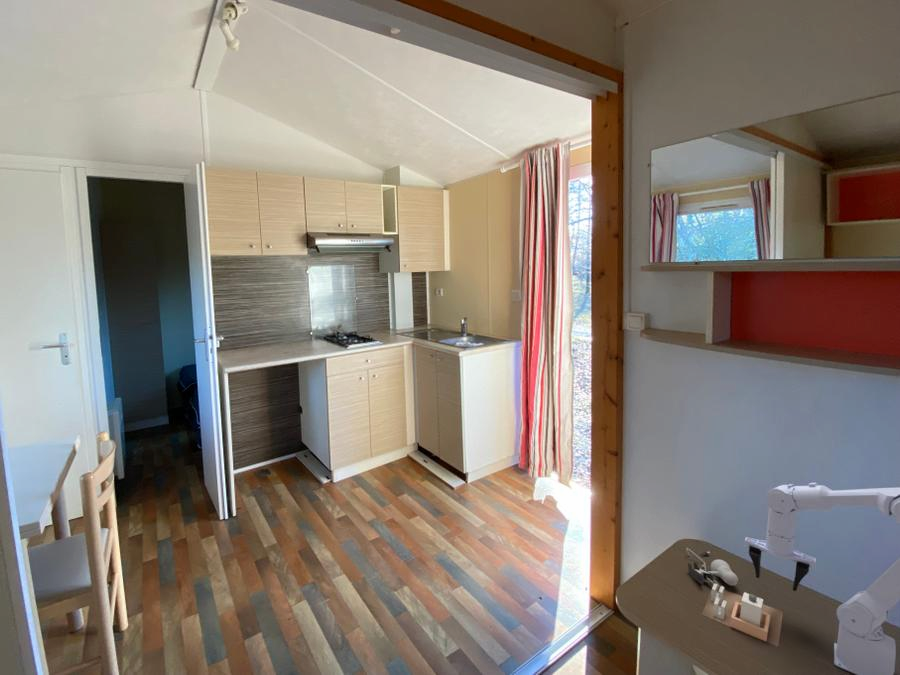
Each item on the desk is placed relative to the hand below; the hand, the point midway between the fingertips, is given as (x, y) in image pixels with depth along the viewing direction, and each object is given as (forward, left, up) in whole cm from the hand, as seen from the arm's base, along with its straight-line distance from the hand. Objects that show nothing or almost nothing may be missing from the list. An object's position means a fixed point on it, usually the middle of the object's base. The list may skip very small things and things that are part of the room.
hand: (775, 582), depth 115 cm
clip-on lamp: (+17, -8, -10) cm, 21 cm away
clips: (+11, +7, -8) cm, 16 cm away
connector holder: (+4, +9, -9) cm, 14 cm away
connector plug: (+4, +10, -8) cm, 13 cm away
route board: (+6, +6, -9) cm, 12 cm away
